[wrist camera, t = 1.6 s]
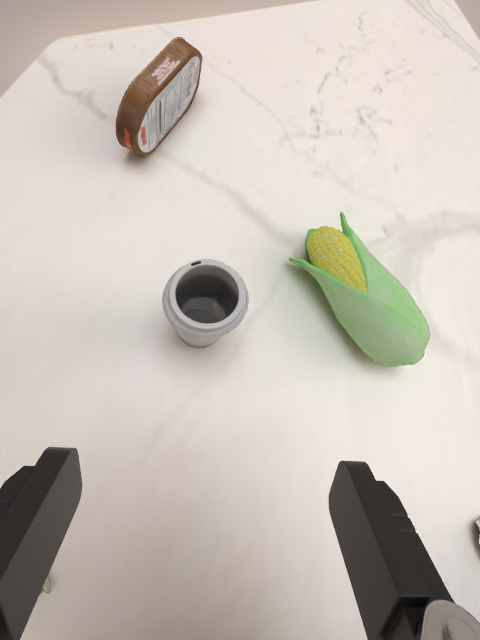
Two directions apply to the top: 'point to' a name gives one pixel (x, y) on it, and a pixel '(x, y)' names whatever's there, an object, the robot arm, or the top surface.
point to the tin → (158, 97)
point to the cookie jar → (479, 523)
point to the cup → (205, 301)
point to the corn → (366, 297)
